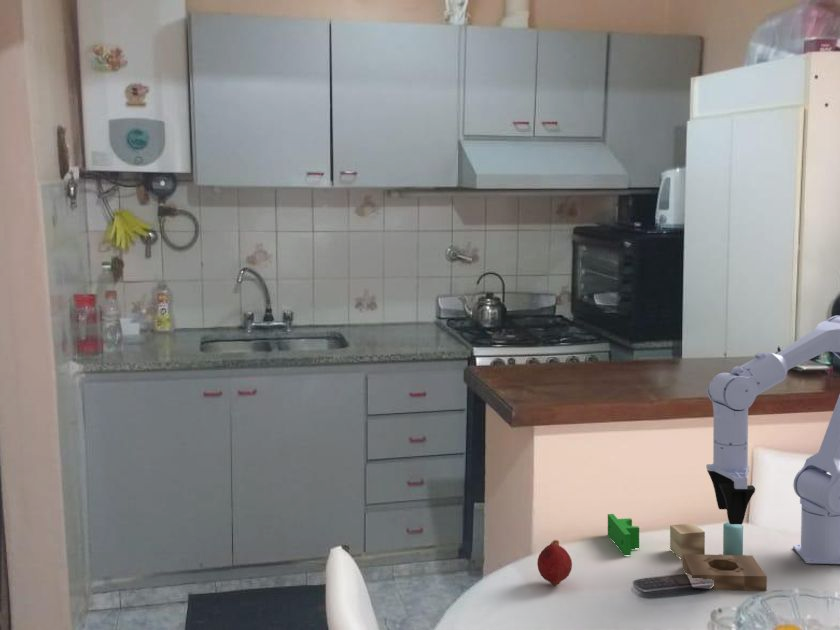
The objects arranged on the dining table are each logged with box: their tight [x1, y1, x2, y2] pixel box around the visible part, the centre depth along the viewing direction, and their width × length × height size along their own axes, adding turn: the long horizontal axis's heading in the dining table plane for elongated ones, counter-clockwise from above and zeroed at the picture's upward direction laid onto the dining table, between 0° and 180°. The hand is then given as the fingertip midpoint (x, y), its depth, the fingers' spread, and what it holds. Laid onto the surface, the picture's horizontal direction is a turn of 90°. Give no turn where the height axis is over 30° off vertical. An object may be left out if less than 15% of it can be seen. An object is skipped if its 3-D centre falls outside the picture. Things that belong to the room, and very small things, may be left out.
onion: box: [536, 539, 573, 586], centre depth 147 cm, size 6×6×8 cm
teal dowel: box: [722, 521, 744, 555], centre depth 157 cm, size 3×3×6 cm
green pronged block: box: [607, 513, 640, 556], centre depth 164 cm, size 11×4×5 cm, turn 4°
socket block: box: [682, 554, 768, 592], centre depth 148 cm, size 12×9×2 cm
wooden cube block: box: [669, 522, 706, 559], centre depth 159 cm, size 5×5×5 cm
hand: (730, 516), depth 152 cm, fingers open, 7 cm apart
